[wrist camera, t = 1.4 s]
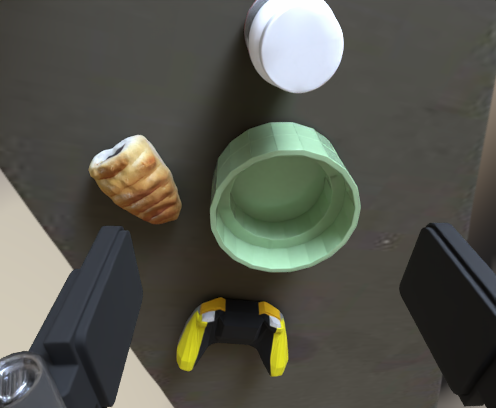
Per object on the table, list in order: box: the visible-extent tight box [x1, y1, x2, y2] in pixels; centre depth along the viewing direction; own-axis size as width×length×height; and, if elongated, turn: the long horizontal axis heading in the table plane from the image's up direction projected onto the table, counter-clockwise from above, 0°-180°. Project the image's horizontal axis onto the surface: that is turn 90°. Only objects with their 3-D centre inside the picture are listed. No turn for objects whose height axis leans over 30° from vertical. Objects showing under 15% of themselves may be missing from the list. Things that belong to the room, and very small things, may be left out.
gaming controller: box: [176, 297, 288, 377], centre depth 45 cm, size 15×6×10 cm
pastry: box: [89, 135, 182, 224], centre depth 33 cm, size 9×7×4 cm
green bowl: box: [210, 122, 361, 272], centre depth 32 cm, size 13×13×6 cm
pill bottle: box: [244, 0, 343, 93], centre depth 23 cm, size 6×6×10 cm
